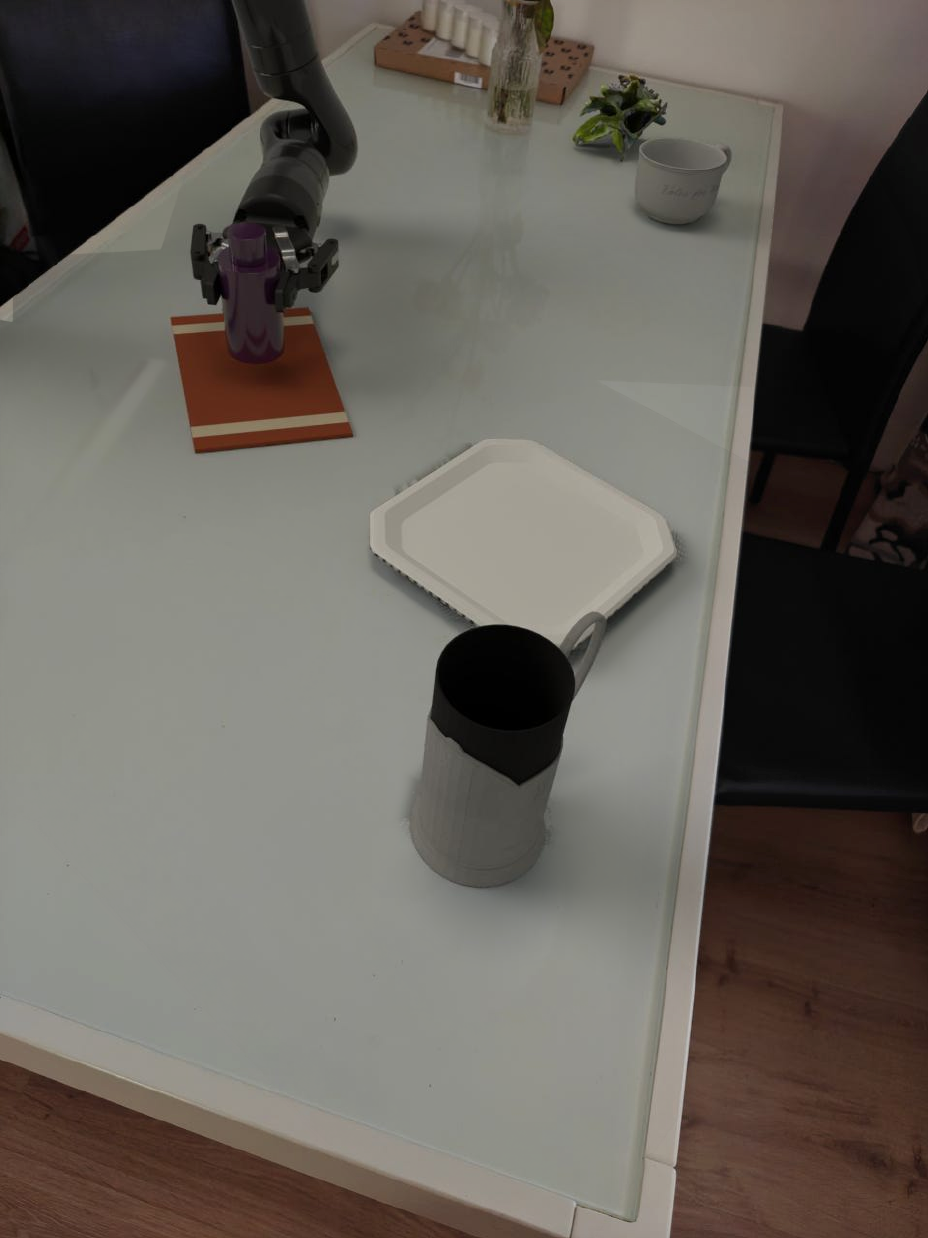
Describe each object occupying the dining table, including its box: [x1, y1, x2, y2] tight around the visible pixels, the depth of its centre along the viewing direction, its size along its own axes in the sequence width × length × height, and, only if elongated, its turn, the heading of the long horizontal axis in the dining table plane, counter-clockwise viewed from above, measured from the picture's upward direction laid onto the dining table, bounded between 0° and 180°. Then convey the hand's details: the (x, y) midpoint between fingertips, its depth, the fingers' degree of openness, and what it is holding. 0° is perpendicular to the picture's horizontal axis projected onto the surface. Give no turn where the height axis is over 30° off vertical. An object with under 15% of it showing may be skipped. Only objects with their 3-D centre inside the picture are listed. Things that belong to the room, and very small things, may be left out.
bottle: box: [217, 222, 285, 364], centre depth 89 cm, size 5×5×12 cm
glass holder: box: [409, 611, 608, 888], centre depth 60 cm, size 9×14×15 cm, turn 138°
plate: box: [369, 438, 678, 651], centre depth 81 cm, size 21×21×2 cm
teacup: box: [634, 136, 733, 225], centre depth 125 cm, size 14×11×8 cm
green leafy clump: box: [572, 74, 668, 162], centre depth 138 cm, size 11×11×12 cm
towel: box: [170, 306, 354, 454], centre depth 95 cm, size 22×14×1 cm, turn 17°
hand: (245, 298), depth 87 cm, fingers closed on bottle, 5 cm apart
